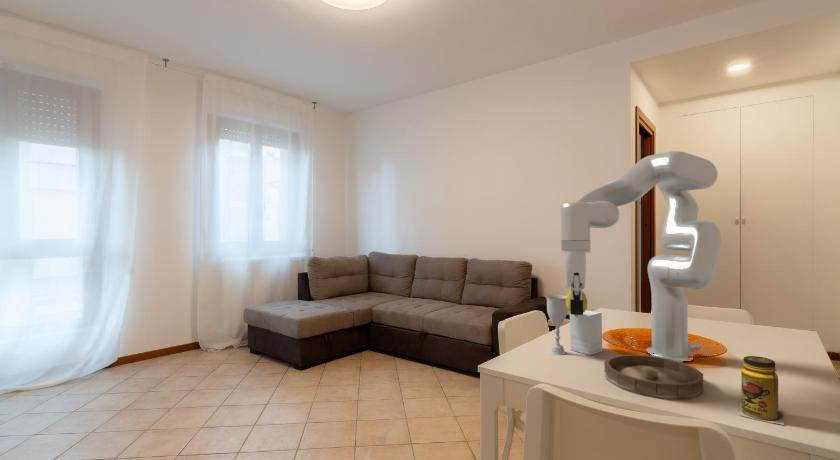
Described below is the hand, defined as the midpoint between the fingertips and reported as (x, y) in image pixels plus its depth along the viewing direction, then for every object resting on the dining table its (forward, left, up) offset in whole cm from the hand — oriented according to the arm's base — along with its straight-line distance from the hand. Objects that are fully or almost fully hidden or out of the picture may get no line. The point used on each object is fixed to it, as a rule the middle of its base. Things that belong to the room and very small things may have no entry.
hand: (576, 311), depth 111 cm
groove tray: (-16, +9, -17) cm, 25 cm away
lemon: (0, 0, -2) cm, 2 cm away
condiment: (-26, +29, -17) cm, 43 cm away
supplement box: (-14, -18, -17) cm, 29 cm away
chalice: (-4, -18, -17) cm, 25 cm away
